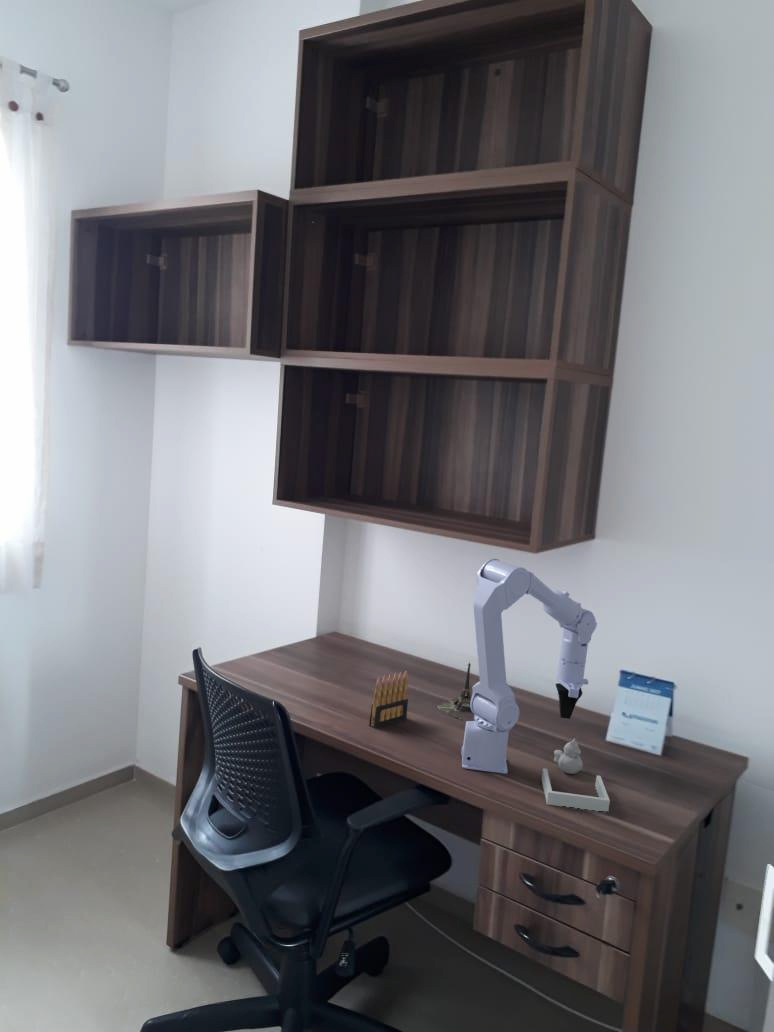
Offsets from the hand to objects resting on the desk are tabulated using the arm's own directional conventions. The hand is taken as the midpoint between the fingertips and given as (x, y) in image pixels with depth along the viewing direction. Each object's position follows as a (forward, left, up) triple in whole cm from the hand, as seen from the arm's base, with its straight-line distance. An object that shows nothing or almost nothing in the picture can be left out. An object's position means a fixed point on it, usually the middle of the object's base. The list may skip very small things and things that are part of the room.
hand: (565, 717), depth 184 cm
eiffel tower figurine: (-22, +19, -9) cm, 31 cm away
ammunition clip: (-40, +3, -8) cm, 41 cm away
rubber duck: (0, -11, -8) cm, 14 cm away
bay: (0, -22, -8) cm, 23 cm away
